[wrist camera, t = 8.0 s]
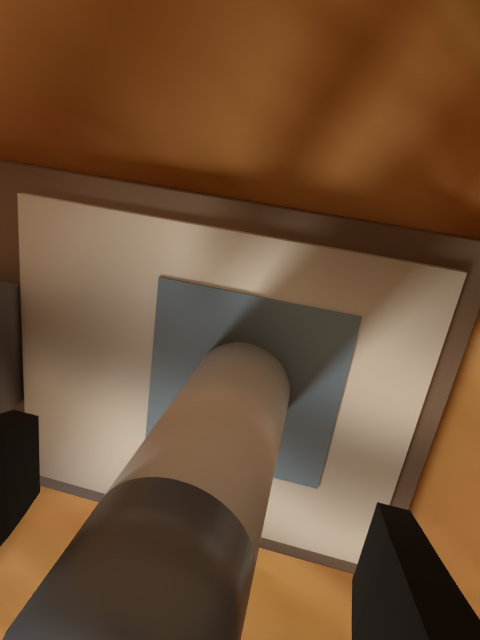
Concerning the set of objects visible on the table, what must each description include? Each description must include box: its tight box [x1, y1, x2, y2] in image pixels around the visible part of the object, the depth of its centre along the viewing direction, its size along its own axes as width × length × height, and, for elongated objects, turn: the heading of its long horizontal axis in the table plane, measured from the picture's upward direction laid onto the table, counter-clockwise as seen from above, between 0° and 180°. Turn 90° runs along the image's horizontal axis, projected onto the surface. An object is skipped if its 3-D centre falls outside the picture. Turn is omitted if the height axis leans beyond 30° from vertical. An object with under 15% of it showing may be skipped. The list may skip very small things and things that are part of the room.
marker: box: [3, 342, 290, 640], centre depth 9 cm, size 3×3×8 cm
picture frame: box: [0, 160, 480, 574], centre depth 14 cm, size 12×16×2 cm
